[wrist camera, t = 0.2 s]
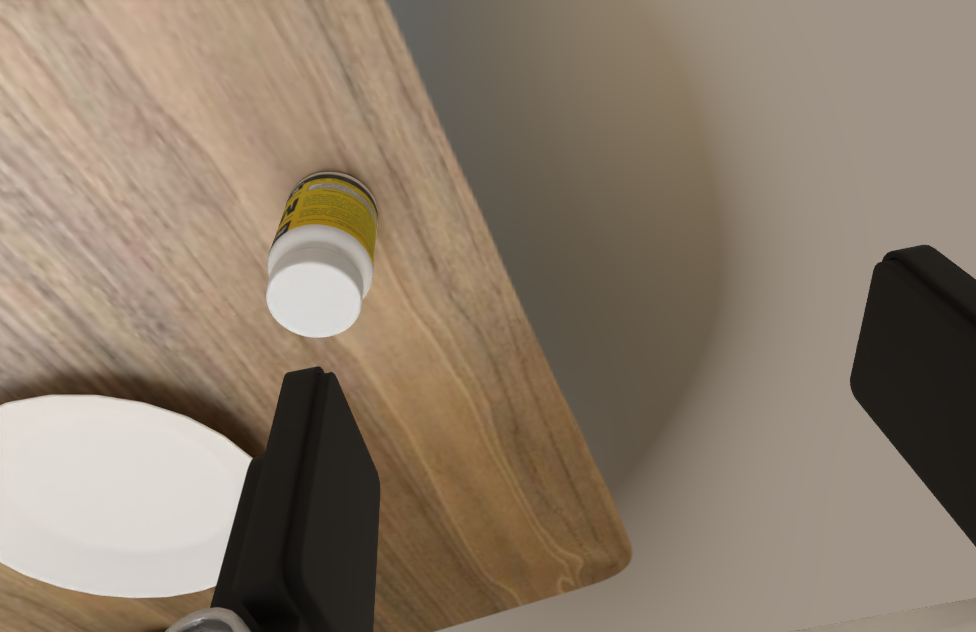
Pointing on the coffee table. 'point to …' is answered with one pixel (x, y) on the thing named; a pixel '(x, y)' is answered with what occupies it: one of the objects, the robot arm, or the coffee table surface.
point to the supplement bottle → (323, 255)
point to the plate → (115, 495)
